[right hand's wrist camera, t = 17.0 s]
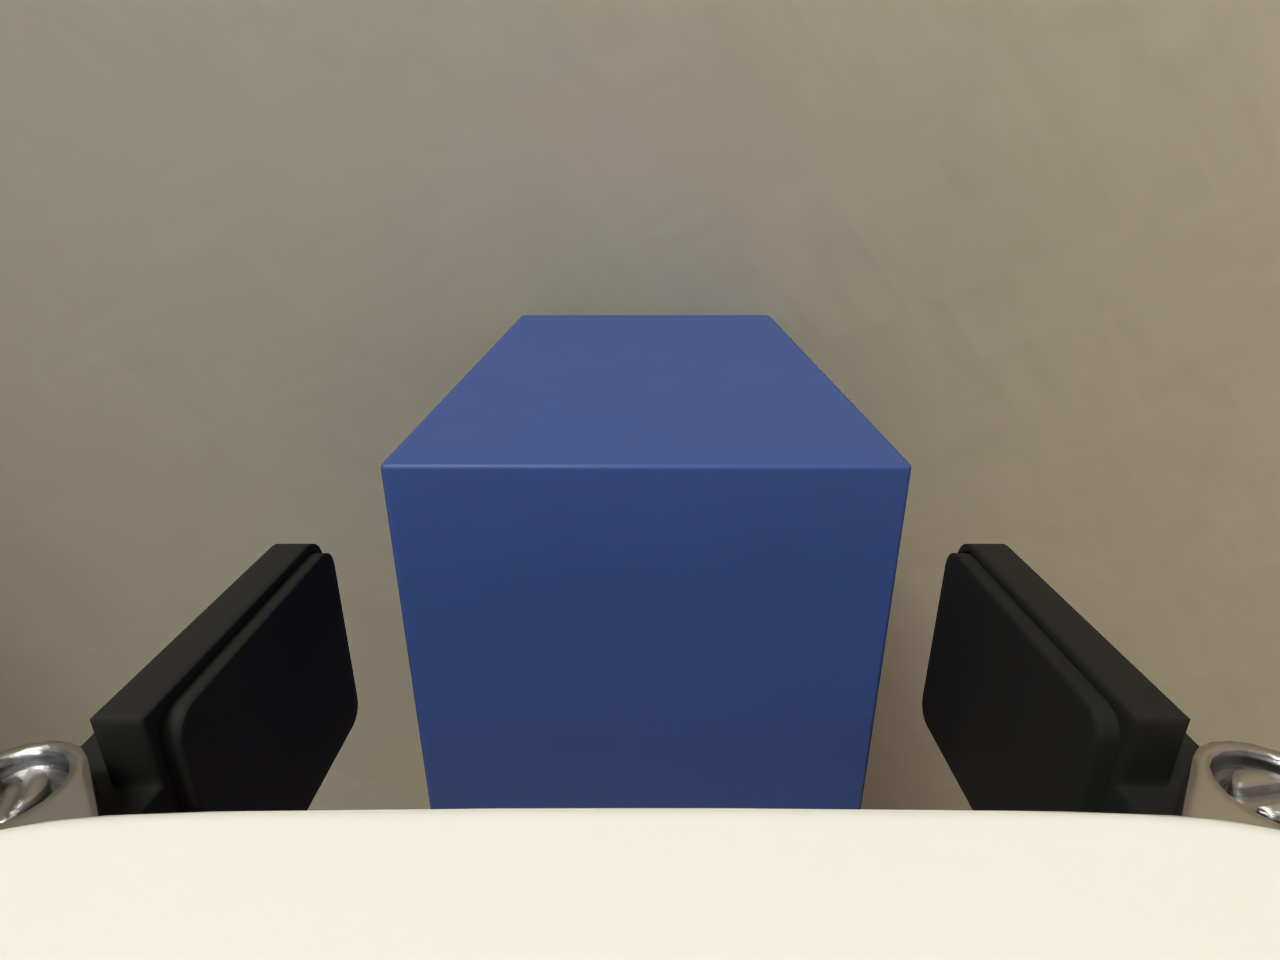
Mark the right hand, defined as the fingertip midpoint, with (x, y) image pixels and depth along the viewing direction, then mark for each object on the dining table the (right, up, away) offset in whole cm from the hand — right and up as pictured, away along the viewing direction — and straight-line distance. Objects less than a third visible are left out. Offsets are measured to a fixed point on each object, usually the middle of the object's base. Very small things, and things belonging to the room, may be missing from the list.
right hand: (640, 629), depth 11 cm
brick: (0, +3, +5) cm, 6 cm away
